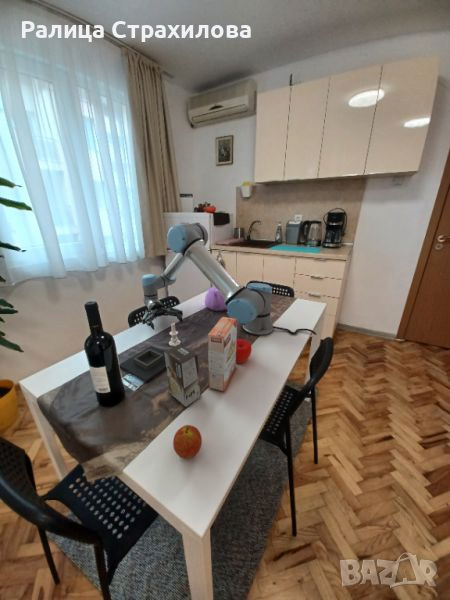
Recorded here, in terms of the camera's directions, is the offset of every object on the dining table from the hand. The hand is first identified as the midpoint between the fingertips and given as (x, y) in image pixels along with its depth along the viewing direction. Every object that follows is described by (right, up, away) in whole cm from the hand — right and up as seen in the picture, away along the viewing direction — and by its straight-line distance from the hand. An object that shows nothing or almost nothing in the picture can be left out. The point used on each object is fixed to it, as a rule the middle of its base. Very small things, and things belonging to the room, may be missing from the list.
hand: (167, 323), depth 111 cm
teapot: (+23, +7, +34) cm, 42 cm away
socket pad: (-3, -14, -18) cm, 23 cm away
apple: (+33, -13, -16) cm, 39 cm away
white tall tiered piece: (+4, -9, -4) cm, 10 cm away
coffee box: (+13, -20, -33) cm, 41 cm away
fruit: (+17, -27, -51) cm, 61 cm away
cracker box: (+26, -17, -25) cm, 40 cm away
